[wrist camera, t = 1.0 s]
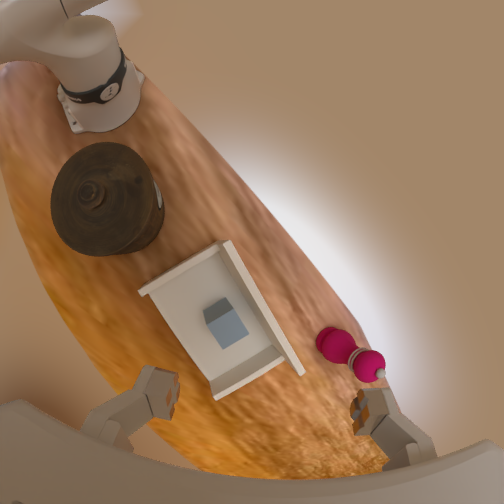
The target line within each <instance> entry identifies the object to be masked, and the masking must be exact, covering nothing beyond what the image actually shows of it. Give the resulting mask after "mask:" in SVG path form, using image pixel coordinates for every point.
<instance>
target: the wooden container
mask: <svg viewBox="0 0 504 504" xmlns="http://www.w3.org/2000/svg"><path fill="white" fill-rule="evenodd" d="M164 212H165V210H164V202H163V198H162V195H161V193H160V190H159V188H158V186H157V184H156V183H155V181H154V179H153V177H152V175H151V173H150V170H149V168H148V167H147V165H146V163H145V162H144V160H143V159H142V158H141V157H140V156H139V155H138V154H137V153H136V152H135V151H134V150H132V149H131V148H129V147H127V146H125V145H122V144H119V143H114V142H101V143H95V144H92V145H89V146H87V147H85V148H83V149H81V150H79V151H78V152H76V153H75V154H74V155H73V156H72V157H71V158H70V159H69V160H68V161H67V162H66V163H65V164H64V166H63V167H62V169H61V170H60V172H59V174H58V176H57V178H56V180H55V183H54V185H53V189H52V194H51V216H52V220H53V224H54V226H55V229H56V231H57V233H58V234H59V236H60V238H61V239H62V240H63V241H64V242H65V243H66V244H67V245H68V246H69V247H70V248H72V249H73V250H75V251H77V252H79V253H82V254H85V255H89V256H109V255H119V254H127V253H132V252H136V251H138V250H141V249H143V248H145V247H146V246H147V245H149V244H150V243H151V242H152V241H153V240H154V239H155V237H156V236H157V235H158V233H159V231H160V229H161V227H162V224H163V220H164Z"/></svg>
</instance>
